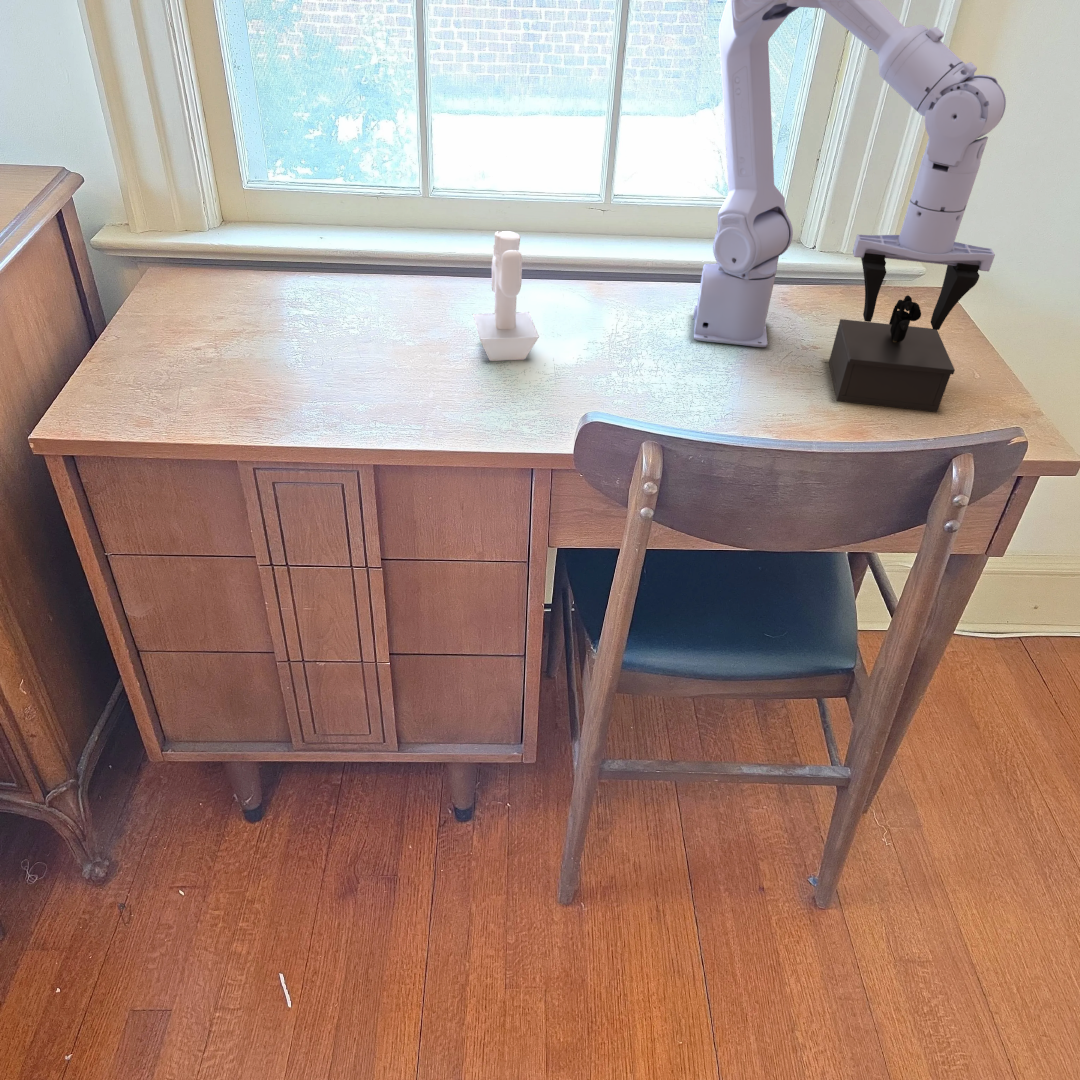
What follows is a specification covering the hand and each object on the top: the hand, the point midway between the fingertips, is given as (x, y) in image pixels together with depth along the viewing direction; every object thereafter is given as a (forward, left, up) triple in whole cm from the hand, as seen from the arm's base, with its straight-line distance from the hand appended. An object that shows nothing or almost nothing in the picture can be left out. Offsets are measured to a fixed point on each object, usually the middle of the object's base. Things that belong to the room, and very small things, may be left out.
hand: (900, 322), depth 104 cm
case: (0, 0, -8) cm, 8 cm away
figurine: (-46, -2, -9) cm, 47 cm away
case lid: (0, 0, -3) cm, 3 cm away
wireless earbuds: (+1, +1, -3) cm, 3 cm away
